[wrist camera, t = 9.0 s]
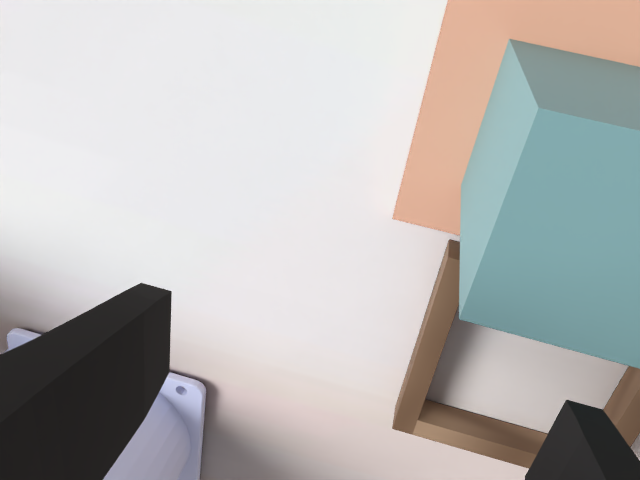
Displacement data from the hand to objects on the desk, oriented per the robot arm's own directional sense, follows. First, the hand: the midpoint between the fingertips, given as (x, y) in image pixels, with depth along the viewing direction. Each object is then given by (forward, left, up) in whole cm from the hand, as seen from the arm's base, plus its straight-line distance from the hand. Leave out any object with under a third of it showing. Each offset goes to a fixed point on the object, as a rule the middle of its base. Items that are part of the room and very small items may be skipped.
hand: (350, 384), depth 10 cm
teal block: (+4, +3, -9) cm, 10 cm away
